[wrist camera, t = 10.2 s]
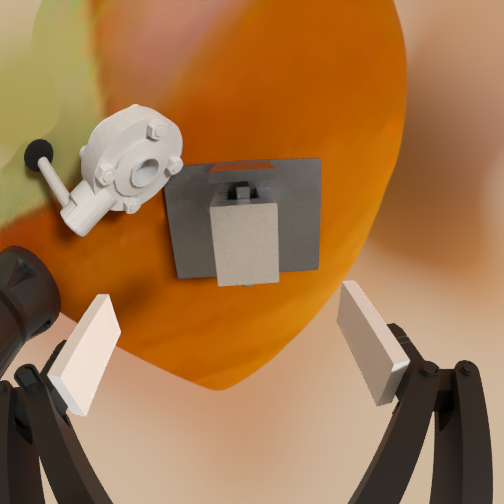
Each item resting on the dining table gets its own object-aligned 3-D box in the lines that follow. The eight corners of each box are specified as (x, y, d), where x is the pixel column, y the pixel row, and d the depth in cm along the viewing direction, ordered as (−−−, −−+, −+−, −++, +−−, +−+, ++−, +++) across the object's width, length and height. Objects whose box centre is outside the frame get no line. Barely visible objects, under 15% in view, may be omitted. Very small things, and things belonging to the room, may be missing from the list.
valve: (197, 166, 31) (99, 262, 28) (120, 107, 35) (44, 178, 32) (174, 100, 21) (39, 226, 18) (93, 56, 25) (2, 138, 22)
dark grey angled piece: (178, 276, 37) (167, 309, 30) (163, 168, 32) (143, 178, 25) (317, 267, 38) (333, 298, 31) (319, 158, 32) (340, 166, 25)
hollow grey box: (222, 259, 36) (219, 290, 29) (215, 190, 32) (209, 207, 26) (271, 255, 36) (279, 286, 29) (268, 187, 33) (277, 202, 26)
